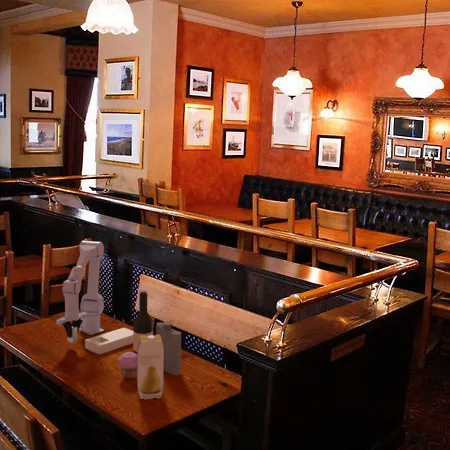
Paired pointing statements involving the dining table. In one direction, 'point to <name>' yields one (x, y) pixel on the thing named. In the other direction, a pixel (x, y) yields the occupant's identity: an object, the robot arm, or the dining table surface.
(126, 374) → the cupcake
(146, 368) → the juice carton
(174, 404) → the dining table surface
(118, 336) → the pale beige flat-sided block
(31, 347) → the dining table surface
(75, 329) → the pinkish white rectangular block
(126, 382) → the dining table surface
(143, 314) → the wine bottle
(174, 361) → the hip flask
